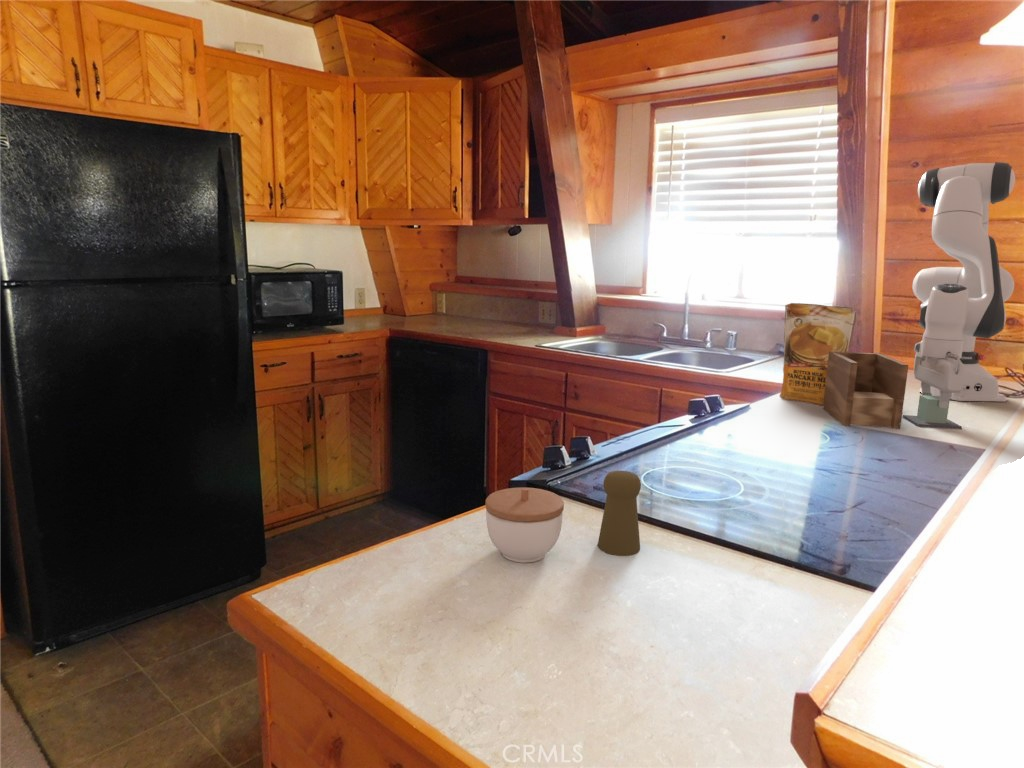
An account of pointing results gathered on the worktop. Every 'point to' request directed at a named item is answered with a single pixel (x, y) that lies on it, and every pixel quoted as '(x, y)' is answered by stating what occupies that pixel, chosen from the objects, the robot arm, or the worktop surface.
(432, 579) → the worktop surface
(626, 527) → the cork
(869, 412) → the bin
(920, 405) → the block
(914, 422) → the mat
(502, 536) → the lidded jar
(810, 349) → the pancake mix bag
